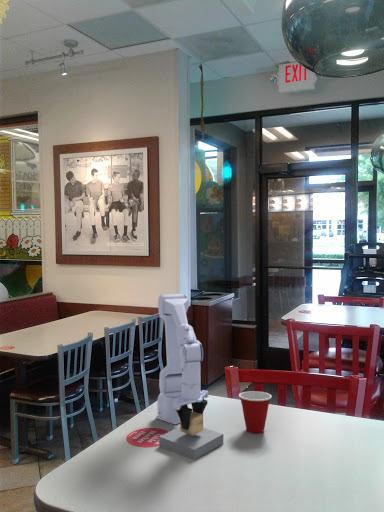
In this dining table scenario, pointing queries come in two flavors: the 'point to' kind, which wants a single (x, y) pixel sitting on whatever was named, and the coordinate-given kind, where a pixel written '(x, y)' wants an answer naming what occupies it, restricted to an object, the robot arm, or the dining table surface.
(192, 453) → the slate base
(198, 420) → the oak cube
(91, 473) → the dining table surface
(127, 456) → the dining table surface
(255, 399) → the plastic cup
